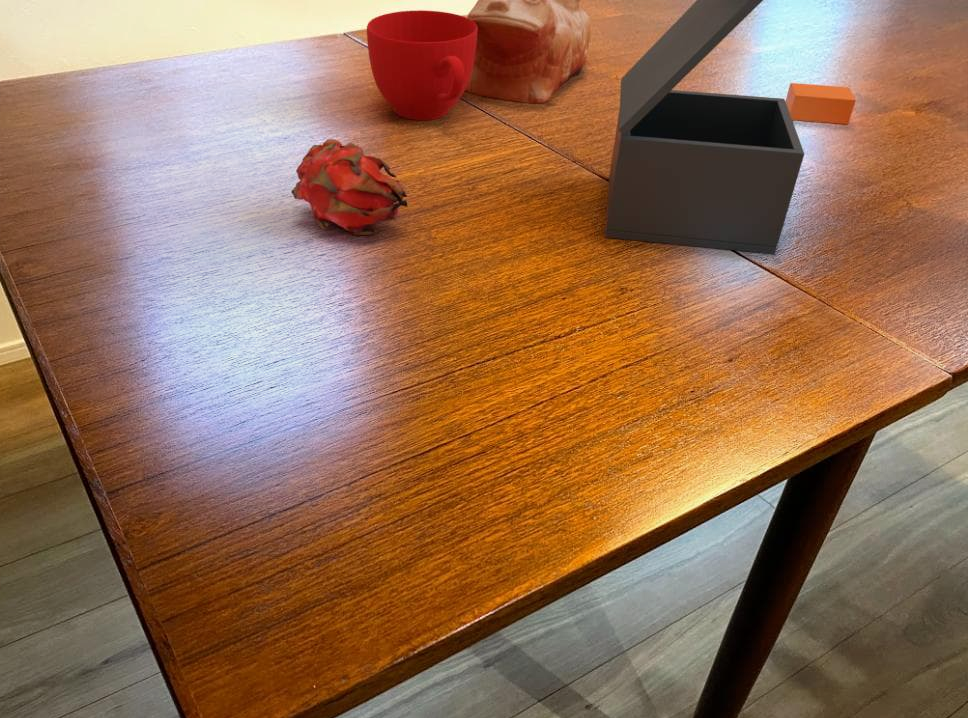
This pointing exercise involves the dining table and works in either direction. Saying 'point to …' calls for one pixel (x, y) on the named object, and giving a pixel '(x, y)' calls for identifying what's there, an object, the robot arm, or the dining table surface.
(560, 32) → the ceramic vessel
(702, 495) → the dining table surface
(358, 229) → the dragon fruit
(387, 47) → the ceramic cup
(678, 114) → the storage bin
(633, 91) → the box lid
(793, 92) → the packet
